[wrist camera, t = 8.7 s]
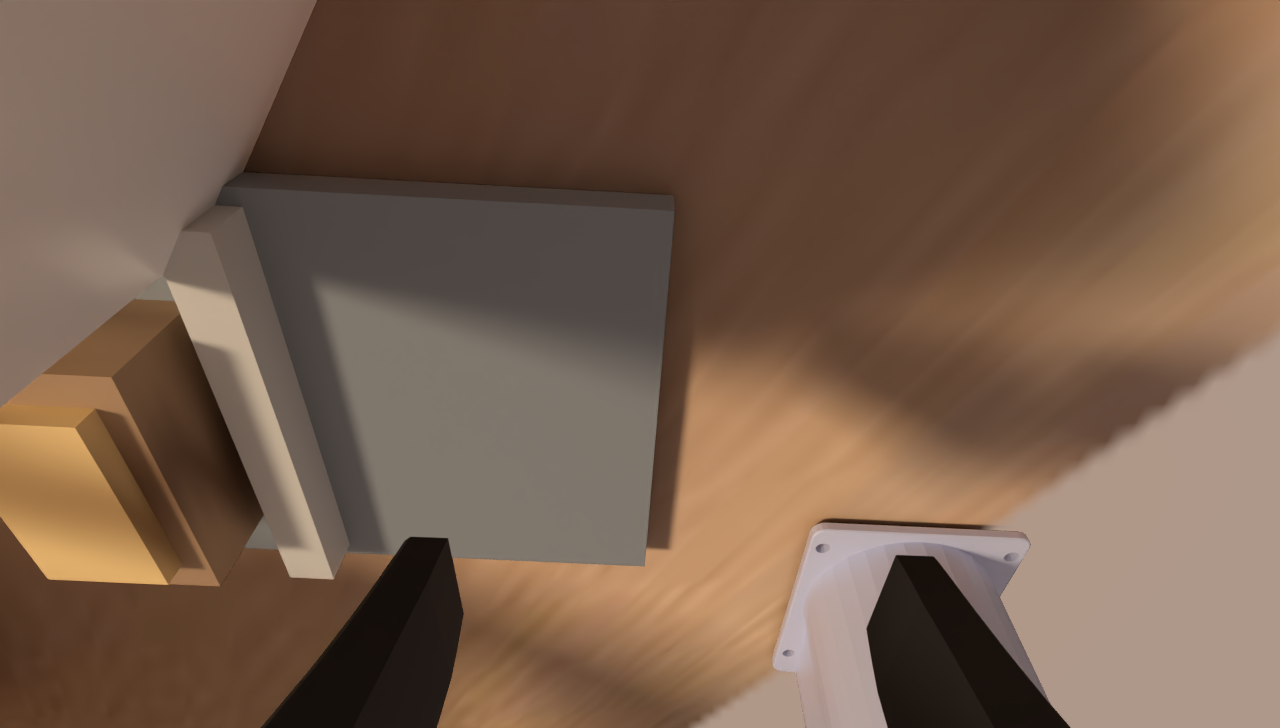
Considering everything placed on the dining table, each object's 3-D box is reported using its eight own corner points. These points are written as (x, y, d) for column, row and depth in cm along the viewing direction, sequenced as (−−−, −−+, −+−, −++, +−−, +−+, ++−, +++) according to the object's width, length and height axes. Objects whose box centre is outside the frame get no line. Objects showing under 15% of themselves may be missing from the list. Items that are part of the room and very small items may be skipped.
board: (644, 544, 26) (644, 614, 23) (88, 519, 25) (29, 587, 23) (673, 194, 17) (677, 247, 15) (-150, 150, 17) (-283, 196, 15)
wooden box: (271, 501, 23) (208, 606, 20) (125, 494, 23) (36, 599, 20) (192, 301, 18) (91, 396, 15) (7, 292, 18) (-136, 385, 15)
